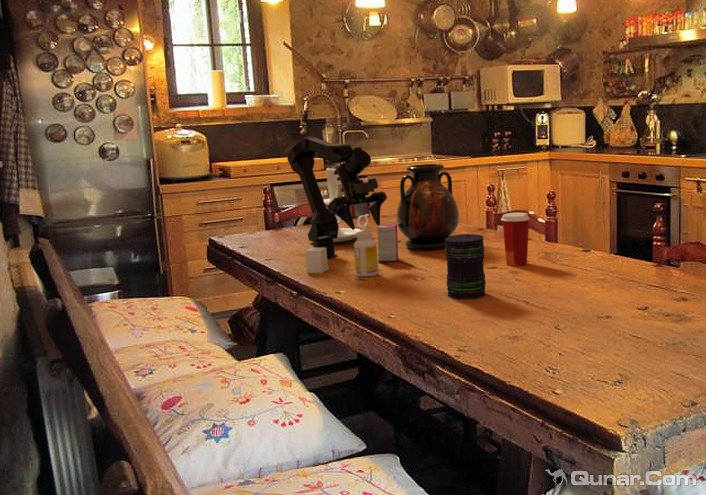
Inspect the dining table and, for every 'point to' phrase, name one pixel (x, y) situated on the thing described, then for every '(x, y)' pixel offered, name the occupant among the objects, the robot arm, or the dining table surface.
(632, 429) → the dining table surface
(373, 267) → the supplement bottle
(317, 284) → the dining table surface
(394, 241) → the supplement box
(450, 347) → the dining table surface
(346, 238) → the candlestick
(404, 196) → the amphora vase
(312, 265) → the grey block
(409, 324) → the dining table surface
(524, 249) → the coffee cup
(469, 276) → the storage jar
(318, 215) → the robot arm
